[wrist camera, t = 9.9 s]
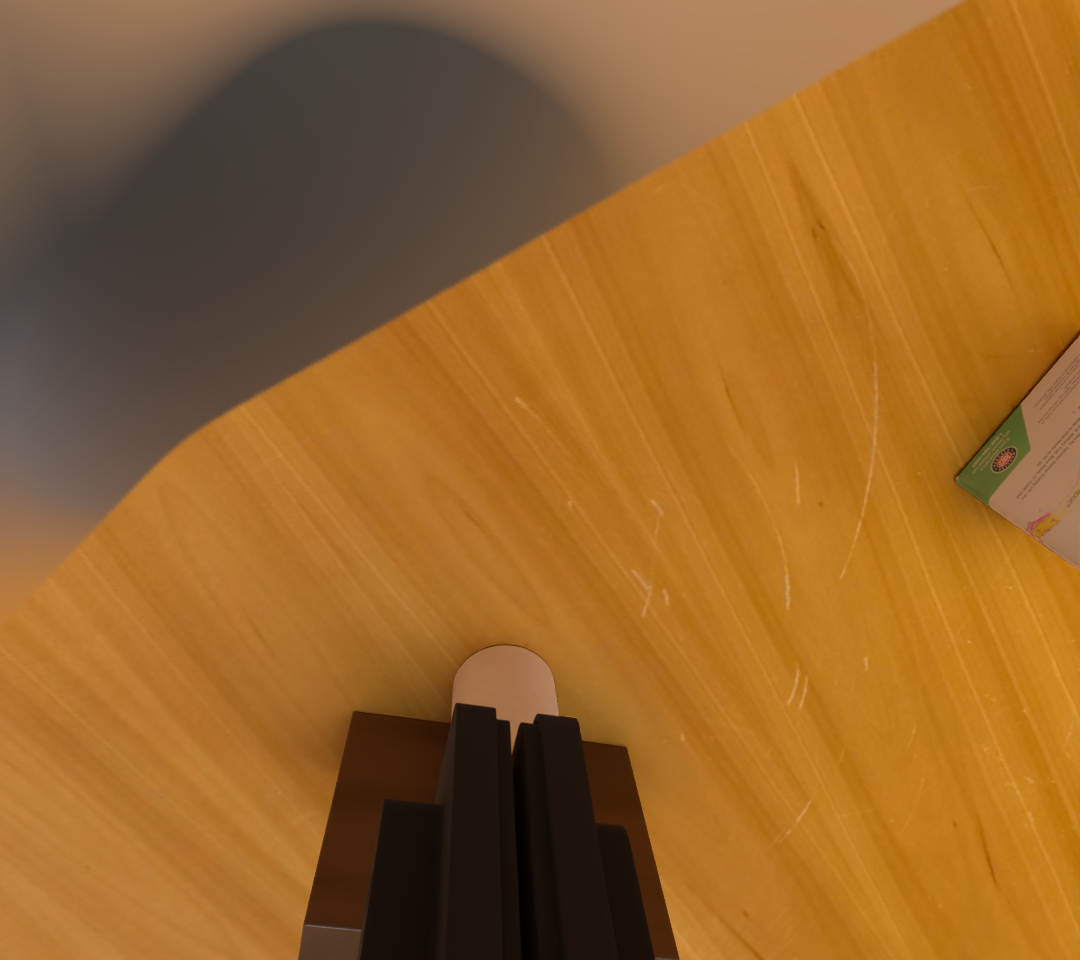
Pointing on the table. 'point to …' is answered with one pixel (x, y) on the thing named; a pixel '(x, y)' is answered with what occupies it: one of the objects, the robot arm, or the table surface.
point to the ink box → (1037, 462)
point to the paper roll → (507, 685)
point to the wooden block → (412, 775)
